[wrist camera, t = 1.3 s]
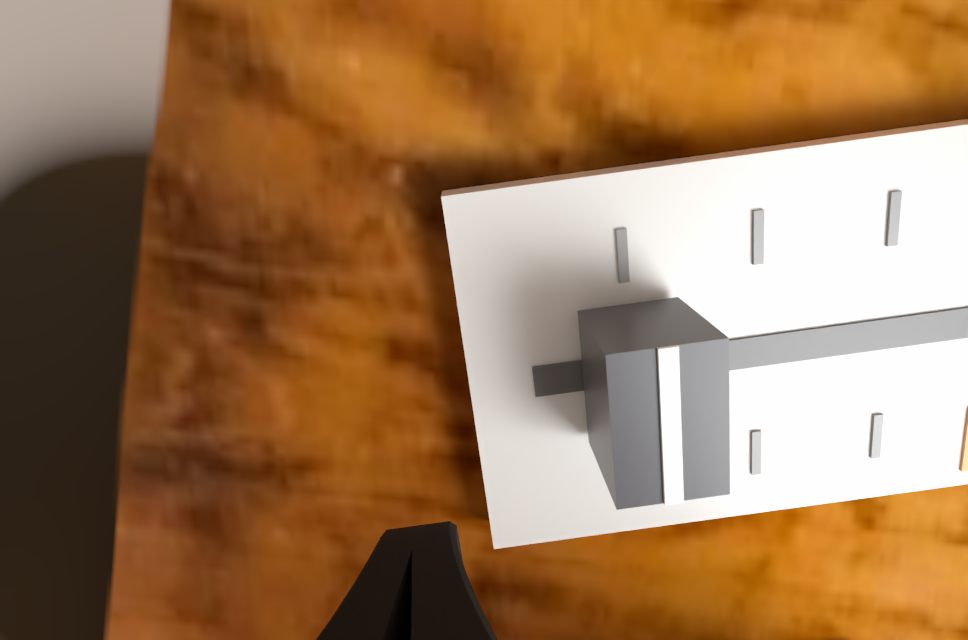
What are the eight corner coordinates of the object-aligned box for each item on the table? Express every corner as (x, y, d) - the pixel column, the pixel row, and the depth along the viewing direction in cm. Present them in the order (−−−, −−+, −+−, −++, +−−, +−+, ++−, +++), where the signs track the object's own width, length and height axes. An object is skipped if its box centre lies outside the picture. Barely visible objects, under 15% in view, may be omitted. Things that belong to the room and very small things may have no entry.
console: (1196, 425, 23) (1250, 447, 21) (491, 521, 23) (493, 551, 21) (1288, 74, 19) (1361, 71, 17) (442, 190, 19) (441, 196, 17)
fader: (681, 428, 20) (731, 496, 16) (588, 441, 20) (617, 512, 16) (677, 296, 18) (730, 339, 15) (577, 310, 18) (606, 356, 15)
